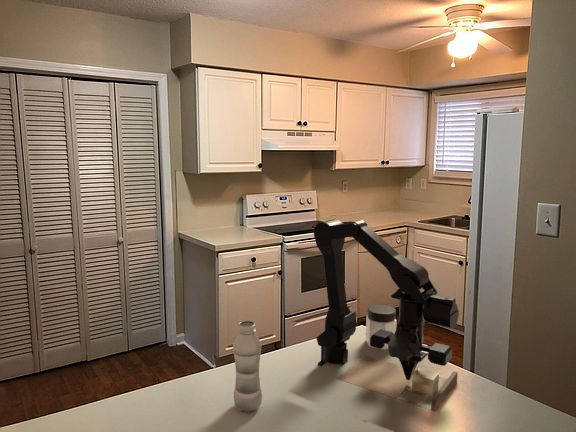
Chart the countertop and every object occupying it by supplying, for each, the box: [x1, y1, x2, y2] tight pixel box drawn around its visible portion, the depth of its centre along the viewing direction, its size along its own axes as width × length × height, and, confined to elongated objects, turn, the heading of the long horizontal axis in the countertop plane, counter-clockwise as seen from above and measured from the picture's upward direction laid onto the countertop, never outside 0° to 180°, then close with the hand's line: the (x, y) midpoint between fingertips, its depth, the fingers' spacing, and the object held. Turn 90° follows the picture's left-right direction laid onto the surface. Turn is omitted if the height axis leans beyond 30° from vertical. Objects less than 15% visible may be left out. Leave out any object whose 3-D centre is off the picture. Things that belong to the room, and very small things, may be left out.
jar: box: [365, 304, 398, 351], centre depth 138 cm, size 9×8×12 cm
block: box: [412, 367, 440, 396], centre depth 112 cm, size 5×4×4 cm
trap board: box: [336, 355, 459, 412], centre depth 117 cm, size 25×16×4 cm, turn 54°
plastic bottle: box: [232, 320, 263, 413], centre depth 106 cm, size 6×7×20 cm
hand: (408, 379), depth 115 cm, fingers closed
